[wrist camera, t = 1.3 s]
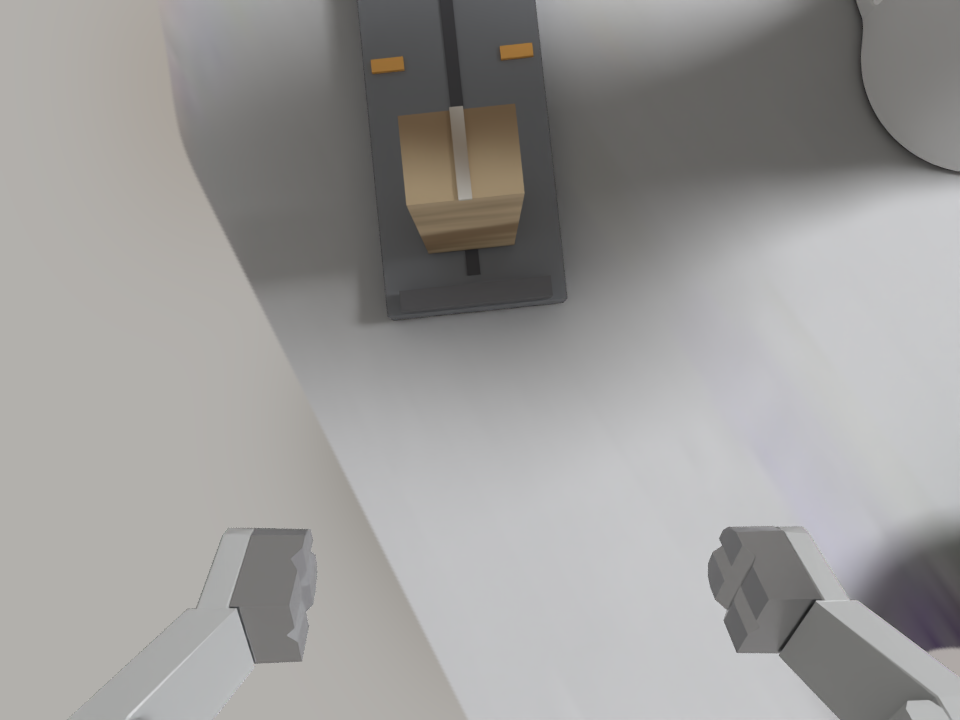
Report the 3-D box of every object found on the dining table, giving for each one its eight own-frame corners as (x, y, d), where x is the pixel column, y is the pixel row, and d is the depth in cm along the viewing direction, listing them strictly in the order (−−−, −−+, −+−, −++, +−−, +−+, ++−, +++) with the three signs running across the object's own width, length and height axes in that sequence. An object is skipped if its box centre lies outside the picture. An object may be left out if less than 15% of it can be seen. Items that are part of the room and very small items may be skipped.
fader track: (562, 302, 38) (570, 295, 35) (393, 320, 38) (384, 314, 35) (522, -75, 39) (525, -115, 36) (356, -57, 39) (344, -96, 36)
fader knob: (514, 245, 36) (525, 192, 26) (428, 254, 36) (405, 205, 26) (507, 178, 36) (515, 100, 26) (422, 187, 36) (396, 112, 26)
